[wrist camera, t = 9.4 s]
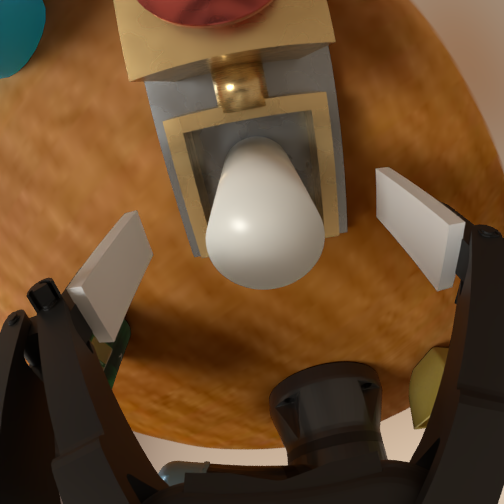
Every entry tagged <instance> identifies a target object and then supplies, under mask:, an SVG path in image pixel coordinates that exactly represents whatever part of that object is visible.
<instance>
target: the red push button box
mask: <svg viewBox="0 0 504 504" xmlns="http://www.w3.org/2000/svg"><path fill="white" fill-rule="evenodd" d="M113 1H114V7H115V13H116V19H117V24H118V30H119V35H120V40H121V45H122V50H123V55H124V60H125V64H126V69H127V73H128V78H129V82H136V81H144V82H145V86H146V91H147V95H148V99H149V103H150V107H151V111H152V115H153V119H154V123H155V127H156V131H157V134H158V138H159V142H160V146H161V149H162V153H163V156H164V160H165V164H166V167H167V171H168V174H169V178H170V181H171V185H172V188H173V191H174V195H175V198H176V201H177V205H178V208H179V211H180V214H181V218H182V221H183V224H184V227H185V230H186V233H187V237H188V240H189V243H190V246H191V249H192V252H193V255H194V257H198V256H201V257H202V258H206V257H209V254H208V252H207V247H206V230H207V226H208V222H209V218H210V214H211V210H212V207H213V203H214V199H215V195H216V191H217V188H218V184H219V180H220V177H221V173H222V169H223V166H224V162H225V159H226V156H227V154H228V152H229V150H230V149H231V148H232V147H233V146H234V145H235V144H236V143H238V142H239V141H241V140H243V139H245V138H249V137H255V136H260V137H266V138H269V139H271V140H273V141H275V142H277V143H278V144H279V145H280V146H281V147H282V148H283V149H284V151H285V152H286V154H287V156H288V157H289V159H290V161H291V163H292V164H293V166H294V168H295V170H296V172H297V173H298V175H299V177H300V179H301V181H302V182H303V184H304V186H305V188H306V190H307V192H308V194H309V195H310V197H311V199H312V201H313V203H314V205H315V207H316V209H317V211H318V213H319V215H320V217H321V219H322V222H323V225H324V232H325V238H327V237H334V236H339V233H344V232H347V207H346V188H345V173H344V160H343V148H342V138H341V128H340V119H339V111H338V103H337V96H336V89H335V82H334V76H333V69H332V63H331V58H330V52H329V47H328V45H330V44H332V43H335V42H336V41H335V36H334V31H333V26H332V21H331V17H330V12H329V8H328V4H327V0H113Z"/></svg>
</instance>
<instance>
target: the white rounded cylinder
mask: <svg viewBox="0 0 504 504" xmlns="http://www.w3.org/2000/svg"><path fill="white" fill-rule="evenodd" d="M324 240H325V232H324V225H323V222H322V219H321V217H320V215H319V213H318V211H317V209H316V207H315V205H314V203H313V201H312V199H311V197H310V195H309V194H308V192H307V190H306V188H305V186H304V184H303V182H302V181H301V179H300V177H299V175H298V173H297V172H296V170H295V168H294V166H293V164H292V163H291V161H290V159H289V157H288V156H287V154H286V152H285V151H284V149H283V148H282V147H281V146H280V145H279V144H278V143H277V142H275V141H273V140H271V139H269V138H266V137H260V136H255V137H249V138H245V139H243V140H241V141H239V142H238V143H236V144H235V145H234V146H233V147H232V148H231V149H230V150H229V152H228V154H227V156H226V159H225V162H224V166H223V169H222V173H221V177H220V180H219V184H218V188H217V191H216V195H215V199H214V203H213V207H212V210H211V214H210V218H209V222H208V226H207V230H206V247H207V252H208V254H209V257H210V259H211V261H212V263H213V265H214V266H215V267H216V268H217V270H218V271H219V272H220V273H221V274H222V275H223V276H225V277H226V278H227V279H229V280H231V281H232V282H234V283H236V284H238V285H241V286H244V287H247V288H252V289H275V288H280V287H283V286H286V285H289V284H291V283H293V282H295V281H297V280H299V279H300V278H302V277H303V276H304V275H306V274H307V273H308V272H309V271H310V270H311V269H312V268H313V266H314V265H315V264H316V262H317V261H318V259H319V257H320V255H321V253H322V250H323V246H324Z"/></svg>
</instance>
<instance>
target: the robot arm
mask: <svg viewBox="0 0 504 504" xmlns="http://www.w3.org/2000/svg"><path fill="white" fill-rule="evenodd" d="M376 217H377V218H378V219H379V220H380V221H381V223H382V224H383V225H384V226H385V227H386V228H387V229H388V231H389V232H390V233H391V234H392V235H393V236H394V238H395V239H396V240H397V241H398V242H399V243H400V245H401V246H402V247H403V248H404V249H405V251H406V252H407V253H408V254H409V256H410V257H411V258H412V259H413V261H414V262H415V263H416V264H417V266H418V267H419V268H420V269H421V271H422V272H423V273H424V274H425V276H426V277H427V278H428V280H429V281H430V282H431V284H432V285H433V286H434V288H435V289H436V290H437V291H439V290H443V289H447V288H450V287H452V286H453V282H454V278H455V274H457V275H458V277H459V278H460V279H461V281H460V285H459V289H458V293H457V296H456V300H455V304H457V306H456V312H455V319H454V324H453V330H452V335H451V340H450V345H449V350H448V355H447V359H446V363H445V367H444V371H443V375H442V379H441V382H440V386H439V389H438V393H437V396H436V399H435V403H434V406H433V409H432V412H431V415H430V418H429V421H428V423H427V426H426V429H425V432H424V434H423V437H422V439H421V441H420V443H419V445H418V447H417V449H416V451H415V453H414V454H413V456H412V458H411V460H410V462H409V463H408V462H403V461H397V460H388V459H387V456H386V452H385V448H384V444H383V441H382V437H381V433H380V420H381V404H382V387H381V384H380V381H379V378H378V375H377V373H376V372H375V370H374V369H372V368H371V367H369V366H367V365H364V364H360V363H353V362H338V363H330V364H324V365H319V366H315V367H312V368H309V369H306V370H303V371H301V372H298V373H296V374H294V375H292V376H290V377H288V378H286V379H285V380H283V381H282V382H281V383H279V384H278V385H277V386H276V387H275V388H274V389H273V391H272V392H271V394H270V397H269V405H270V415H271V418H272V420H273V423H274V425H275V427H276V429H277V431H278V433H279V435H280V437H281V440H282V442H283V444H284V446H285V448H286V450H287V457H288V465H287V466H240V465H221V464H210V462H207V461H206V462H204V463H198V462H184V461H172V462H169V463H167V464H166V465H165V466H163V467H162V469H161V470H160V472H159V473H157V472H156V470H155V469H154V467H153V466H152V464H151V463H150V461H149V459H148V458H147V456H146V454H145V453H144V451H143V449H142V448H141V446H140V444H139V442H138V441H137V439H136V437H135V435H134V434H133V431H132V430H131V428H130V426H129V424H128V422H127V420H126V418H125V416H124V414H123V412H122V410H121V408H120V406H119V404H118V402H117V400H116V398H115V396H114V394H113V391H112V389H111V387H110V385H109V382H108V380H107V378H106V376H105V373H104V371H103V368H102V366H101V364H100V361H99V359H98V356H97V353H96V351H95V348H94V346H93V344H92V343H91V341H90V340H89V338H90V336H91V334H92V332H93V334H94V335H95V337H96V338H97V340H98V341H99V343H102V342H114V341H115V339H116V336H117V334H118V332H119V329H120V327H121V324H122V322H123V320H124V317H125V315H126V313H127V310H128V308H129V306H130V304H131V301H132V299H133V297H134V295H135V292H136V290H137V288H138V286H139V284H140V281H141V279H142V277H143V275H144V273H145V271H146V269H147V267H148V265H149V262H150V260H151V258H152V256H153V253H152V250H151V248H150V245H149V242H148V240H147V237H146V234H145V231H144V229H143V226H142V223H141V220H140V217H139V215H138V212H137V210H136V211H132V212H128V213H125V214H124V215H123V216H122V217H121V218H120V220H119V221H118V222H117V223H116V224H115V226H114V227H113V228H112V229H111V230H110V232H109V233H108V234H107V235H106V236H105V238H104V239H103V240H102V241H101V243H100V244H99V245H98V247H97V248H96V249H95V250H94V252H93V253H92V254H91V256H90V257H89V258H88V259H87V261H86V262H85V263H84V265H83V266H82V267H81V268H80V269H79V271H78V272H77V273H76V276H74V278H73V279H72V280H71V282H70V283H69V284H68V286H67V287H66V289H65V290H64V292H63V293H62V294H60V292H59V290H58V288H57V286H56V285H55V283H54V281H53V279H52V278H46V279H43V280H41V281H39V282H38V283H36V284H35V285H34V286H33V287H32V288H30V290H29V291H28V293H27V298H28V299H29V301H30V303H31V304H32V306H33V307H34V309H35V311H36V312H37V316H34V317H31V318H29V317H28V316H27V314H26V313H25V311H24V310H18V311H16V312H13V313H11V314H10V315H9V316H8V318H7V319H6V320H5V322H4V324H3V327H2V329H1V332H0V504H61V502H60V496H61V499H62V501H63V504H498V501H499V498H500V495H501V492H502V488H503V486H504V238H502V235H501V233H500V232H499V231H498V230H496V229H495V228H493V227H490V226H487V225H475V226H474V225H473V224H472V223H471V222H470V221H468V220H467V219H466V218H464V217H463V216H462V215H460V214H459V213H458V212H457V211H455V210H454V209H453V208H451V207H450V206H449V205H447V204H445V203H442V202H440V201H437V200H436V199H435V198H433V197H432V196H431V195H429V194H428V193H426V192H425V191H424V190H422V189H421V188H419V187H418V186H416V185H415V184H414V183H412V182H411V181H409V180H408V179H406V178H405V177H403V176H402V175H400V174H399V173H397V172H395V171H394V170H392V169H391V168H389V167H385V168H376ZM24 357H25V358H24ZM25 359H26V360H27V361H28V362H29V363H30V364H29V366H28V364H27V363H26V361H25ZM54 434H55V437H56V441H57V445H58V448H59V451H60V456H59V457H57V458H56V457H55V437H54ZM59 493H60V495H59Z"/></svg>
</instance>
